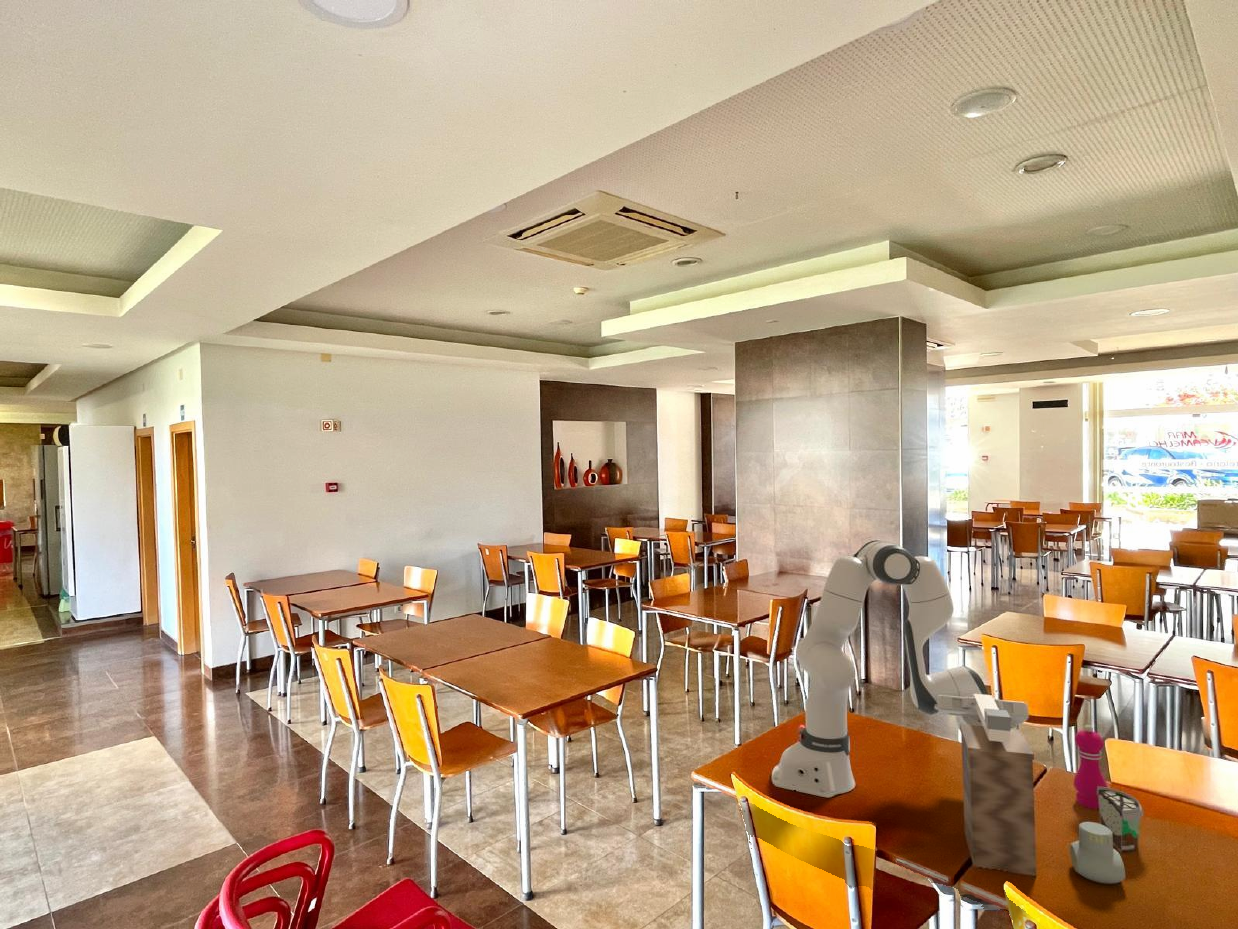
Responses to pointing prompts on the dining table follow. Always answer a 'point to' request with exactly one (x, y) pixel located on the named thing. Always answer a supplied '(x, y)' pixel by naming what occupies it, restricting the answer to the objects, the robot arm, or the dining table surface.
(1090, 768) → the pepper mill
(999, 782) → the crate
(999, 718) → the cream rectangular block
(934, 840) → the dining table surface
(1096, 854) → the air freshener
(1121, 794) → the food container
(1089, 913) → the dining table surface
